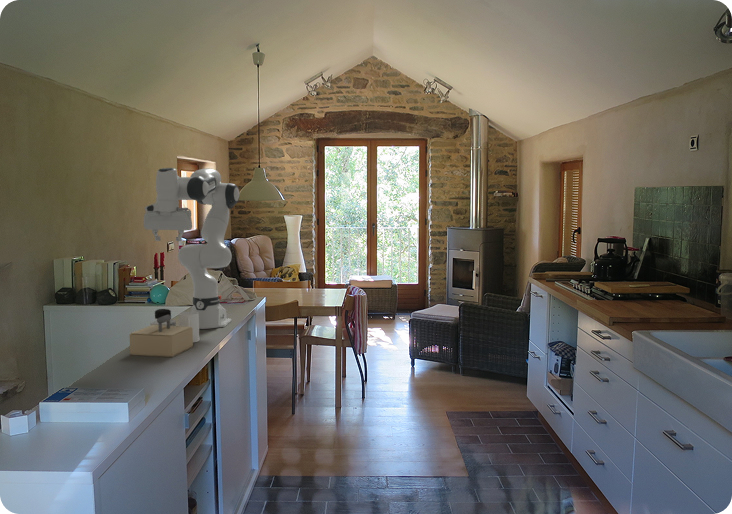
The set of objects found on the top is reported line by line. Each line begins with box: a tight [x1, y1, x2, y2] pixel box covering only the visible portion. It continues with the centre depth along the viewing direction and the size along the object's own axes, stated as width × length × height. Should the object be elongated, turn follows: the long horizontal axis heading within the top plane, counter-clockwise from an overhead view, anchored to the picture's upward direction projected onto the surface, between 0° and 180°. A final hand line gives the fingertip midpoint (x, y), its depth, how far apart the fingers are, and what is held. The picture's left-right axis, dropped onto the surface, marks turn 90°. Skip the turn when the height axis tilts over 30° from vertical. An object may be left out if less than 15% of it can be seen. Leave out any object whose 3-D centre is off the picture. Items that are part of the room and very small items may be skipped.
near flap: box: [151, 315, 191, 336], centre depth 229 cm, size 15×9×6 cm, turn 169°
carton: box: [129, 325, 194, 358], centre depth 231 cm, size 16×18×8 cm
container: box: [149, 308, 177, 326], centre depth 250 cm, size 8×8×13 cm
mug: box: [178, 310, 201, 344], centre depth 245 cm, size 12×8×12 cm
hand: (168, 241), depth 239 cm, fingers open, 8 cm apart
